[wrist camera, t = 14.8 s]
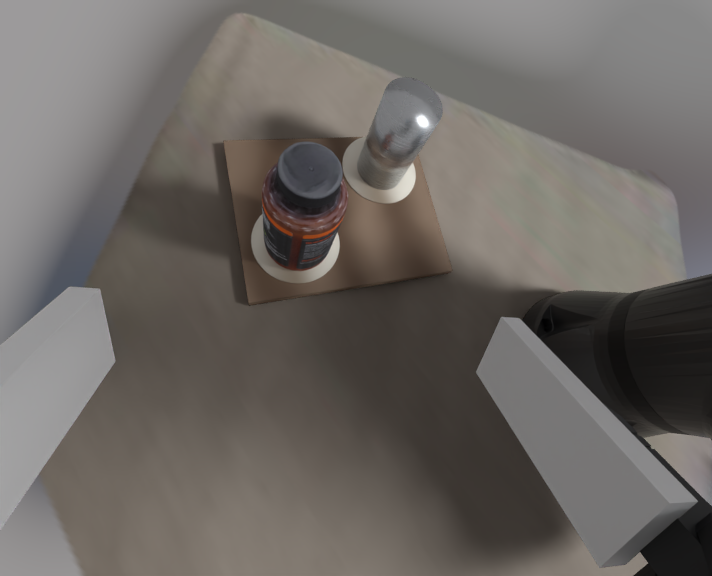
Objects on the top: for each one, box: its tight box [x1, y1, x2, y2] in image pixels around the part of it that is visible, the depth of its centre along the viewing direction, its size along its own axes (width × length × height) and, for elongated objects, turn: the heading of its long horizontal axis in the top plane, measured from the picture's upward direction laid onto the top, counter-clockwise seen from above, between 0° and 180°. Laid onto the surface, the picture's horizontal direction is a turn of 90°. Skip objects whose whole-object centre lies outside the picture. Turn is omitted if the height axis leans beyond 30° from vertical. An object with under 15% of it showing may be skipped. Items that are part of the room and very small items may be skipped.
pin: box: [357, 77, 442, 190], centre depth 31 cm, size 5×5×9 cm
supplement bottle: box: [262, 141, 348, 271], centre depth 26 cm, size 6×6×11 cm
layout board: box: [223, 136, 453, 306], centre depth 33 cm, size 20×16×1 cm
